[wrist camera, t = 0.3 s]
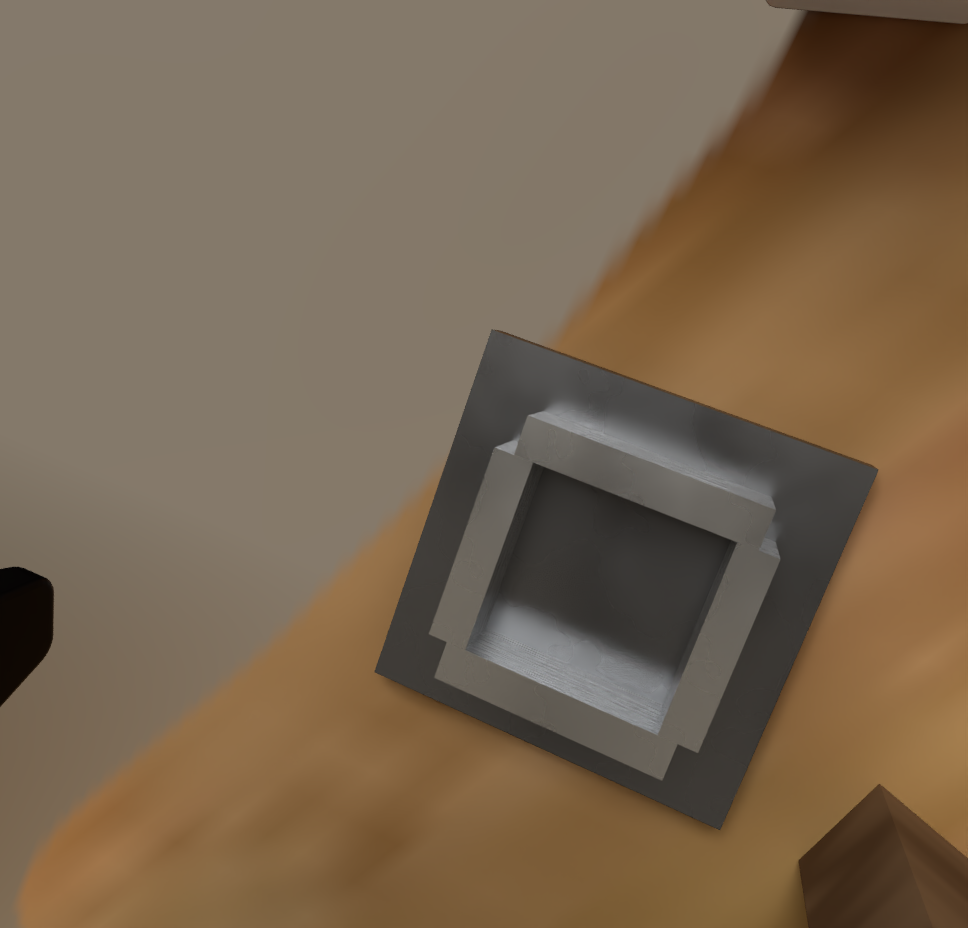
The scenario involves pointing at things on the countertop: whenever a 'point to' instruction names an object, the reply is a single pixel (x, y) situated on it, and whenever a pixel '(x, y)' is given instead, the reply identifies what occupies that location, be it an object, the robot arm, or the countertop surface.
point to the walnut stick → (884, 871)
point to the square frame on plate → (620, 573)
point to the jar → (886, 8)
